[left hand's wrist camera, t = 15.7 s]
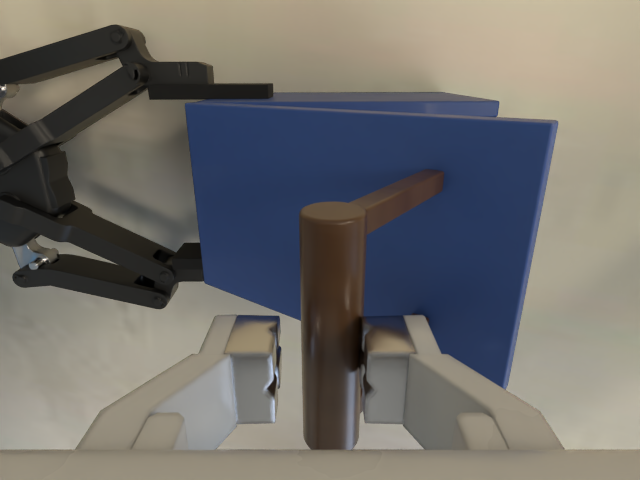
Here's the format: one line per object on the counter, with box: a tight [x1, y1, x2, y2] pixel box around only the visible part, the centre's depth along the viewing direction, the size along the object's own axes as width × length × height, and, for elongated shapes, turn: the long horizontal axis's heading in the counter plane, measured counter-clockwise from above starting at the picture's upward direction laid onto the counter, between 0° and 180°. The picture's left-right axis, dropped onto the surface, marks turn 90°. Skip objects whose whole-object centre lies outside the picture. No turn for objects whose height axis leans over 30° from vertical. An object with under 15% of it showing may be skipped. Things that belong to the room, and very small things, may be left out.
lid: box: [185, 102, 558, 450], centre depth 16 cm, size 16×10×8 cm
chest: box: [198, 92, 499, 117], centre depth 28 cm, size 15×10×11 cm, turn 90°
